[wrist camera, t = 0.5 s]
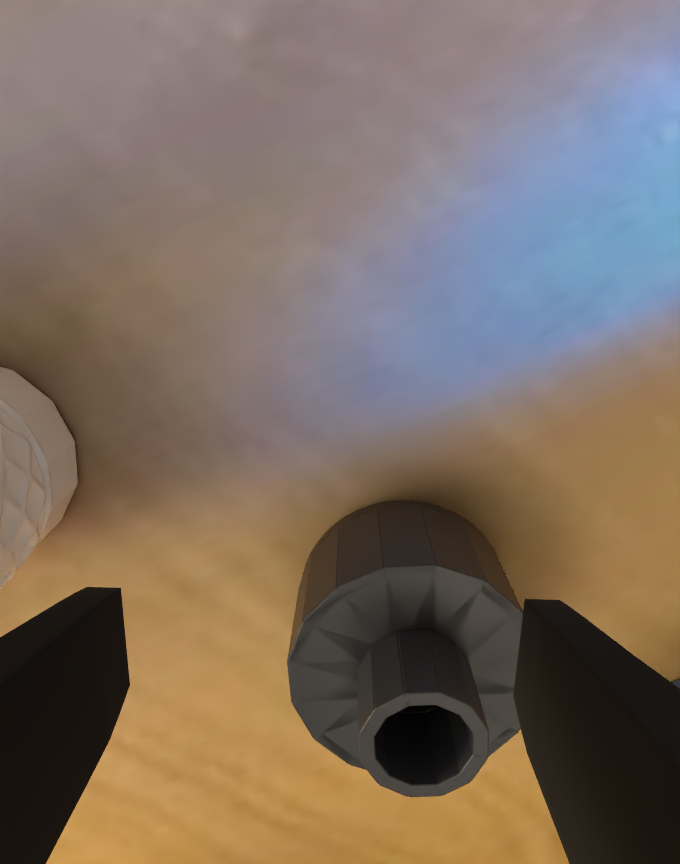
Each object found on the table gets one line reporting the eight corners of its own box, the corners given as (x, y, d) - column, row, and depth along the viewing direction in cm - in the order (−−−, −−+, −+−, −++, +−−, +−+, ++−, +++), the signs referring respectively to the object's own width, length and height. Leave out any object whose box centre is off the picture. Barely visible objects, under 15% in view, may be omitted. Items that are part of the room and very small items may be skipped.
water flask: (501, 673, 22) (564, 852, 16) (309, 680, 23) (291, 860, 16) (504, 494, 20) (579, 613, 14) (293, 505, 21) (265, 626, 14)
